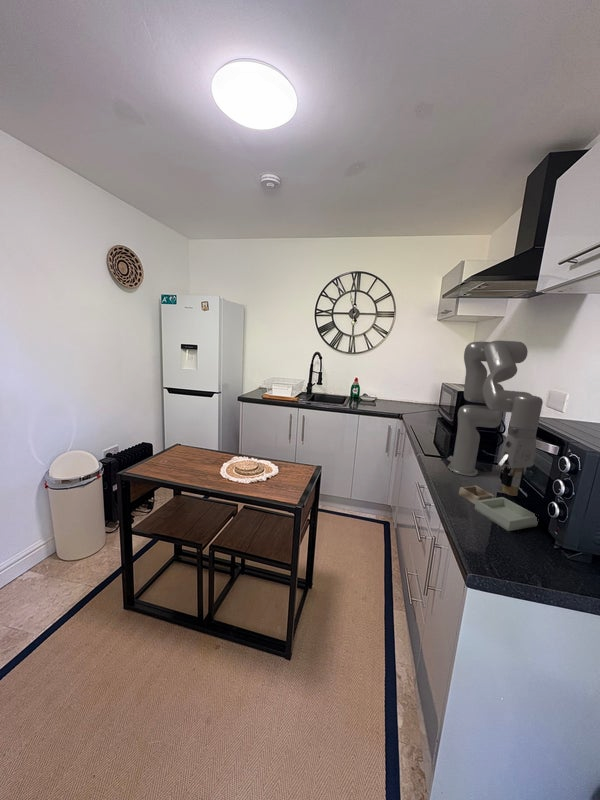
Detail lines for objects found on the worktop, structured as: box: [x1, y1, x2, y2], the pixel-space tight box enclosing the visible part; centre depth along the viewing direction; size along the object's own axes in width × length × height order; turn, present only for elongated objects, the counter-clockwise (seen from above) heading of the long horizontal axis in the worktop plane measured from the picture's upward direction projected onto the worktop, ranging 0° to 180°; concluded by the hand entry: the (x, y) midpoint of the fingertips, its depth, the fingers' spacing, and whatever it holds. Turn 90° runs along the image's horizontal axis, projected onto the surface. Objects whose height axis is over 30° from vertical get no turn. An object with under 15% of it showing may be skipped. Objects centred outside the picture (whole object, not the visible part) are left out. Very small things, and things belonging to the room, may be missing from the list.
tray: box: [474, 496, 539, 532], centre depth 107 cm, size 13×13×4 cm
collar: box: [458, 485, 495, 505], centre depth 119 cm, size 8×8×3 cm
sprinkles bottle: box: [501, 463, 523, 497], centre depth 104 cm, size 5×5×13 cm
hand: (511, 483), depth 105 cm, fingers closed on sprinkles bottle, 4 cm apart
